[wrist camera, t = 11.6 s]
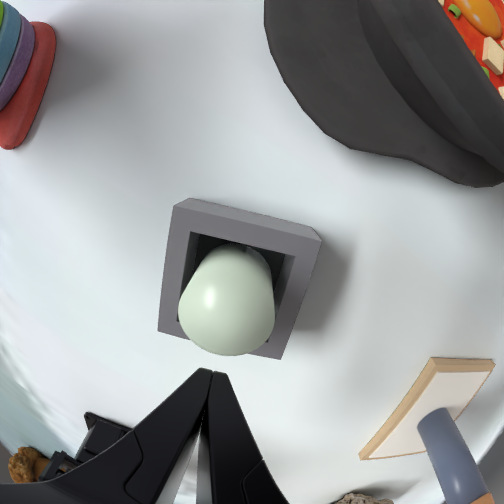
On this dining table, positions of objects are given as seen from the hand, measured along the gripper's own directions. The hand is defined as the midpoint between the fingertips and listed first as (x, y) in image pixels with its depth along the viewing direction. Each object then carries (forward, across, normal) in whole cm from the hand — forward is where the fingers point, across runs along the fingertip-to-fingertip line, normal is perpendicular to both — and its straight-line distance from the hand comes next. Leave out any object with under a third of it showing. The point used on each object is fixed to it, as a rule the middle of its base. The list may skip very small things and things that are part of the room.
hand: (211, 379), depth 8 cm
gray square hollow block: (+9, 0, 0) cm, 9 cm away
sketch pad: (+9, -22, +11) cm, 26 cm away
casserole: (+9, -10, -18) cm, 23 cm away
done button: (+8, 0, 0) cm, 8 cm away
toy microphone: (+8, -22, +11) cm, 26 cm away
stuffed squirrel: (+10, +28, +49) cm, 57 cm away
